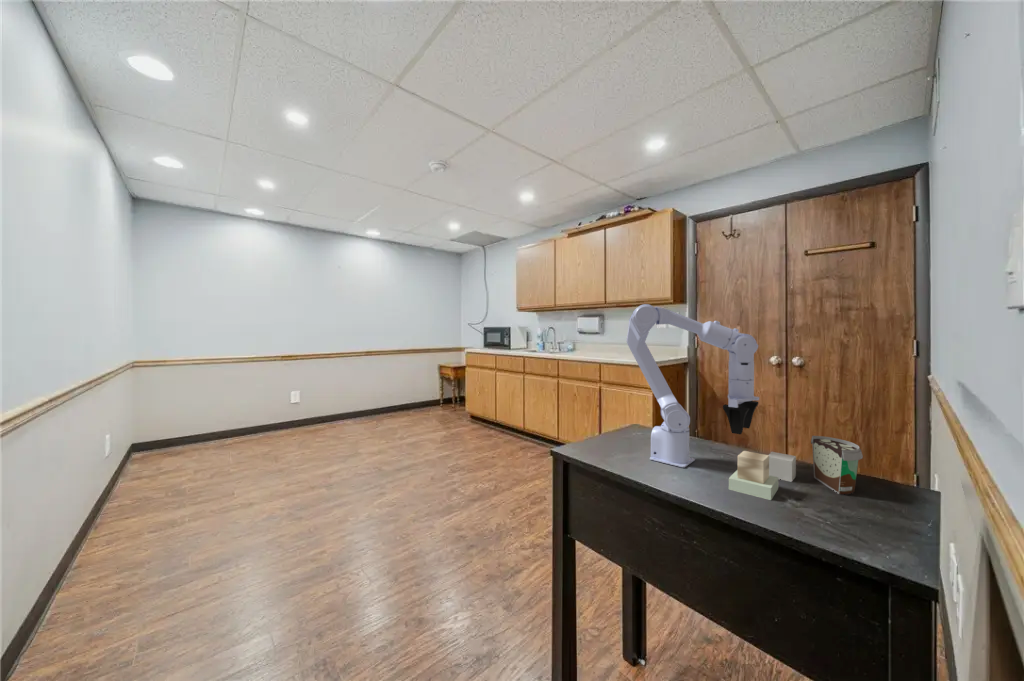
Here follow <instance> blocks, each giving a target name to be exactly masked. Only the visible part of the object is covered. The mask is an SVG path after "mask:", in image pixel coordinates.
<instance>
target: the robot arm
mask: <svg viewBox="0 0 1024 681" xmlns="http://www.w3.org/2000/svg"><path fill="white" fill-rule="evenodd" d="M655 325H657V326H658V325H670V326H673V327H677V328H679V329H682V330H684V331H688V332H690V333H694V334H696V335H697V336H698V338H699V341H701V342H704V343H705V344H709V345H711V346H714V347H716V348H719V349H721V350H727V352H728V357H729V358H728V394H727V399H728V404H723V405H722V409H723V411H724V413H725V415H726V417H727V420H728V423H729V427H730V432H731V433H732V434H734V435H742V433H743V431H744V429H750V428H751V425H752V421H753V417H754V416H753V415H754V413H755V411H756V408H757V407H758V406H759V401H760V396H755V359H754V358H755V356H754V355H755V353H756V352H757V351H758V349H759V344H758V342H757V340H756V339H755V337H754V336H753V335H752V334H748V333H742V332H739V329H738V328H737V327H735V328H730V327H728V326H725V325H722V324H721V322H720V321H718V320H714V321H711V320H708V321H706V322H704V323H703V322H700V321H697V320H695V319H692V318H691V317H688V316H685V315H683V314H680V313H678V312H675V311H673V310H670V309H667V308H664V307H663V308H662V307H659V306H655V307H654V306H653V305H651V304H648V303H644V304H641V305H639V306H638V307H636V308H635V309H634V310H633V311H632V313H631V316H630V318H629V319H628V327H627V334H626V344H627V346H628V349H629V350H630V352H631V354H632V356H633V358H634V359H635V361H636V363H637V365H638V368H640V371H641V373H642V374H643V377H644V379H645V381H646V382H647V384H648V386H649V387H650V390H651V392H652V393H653V395H654V398H656V401H657V403H658V404H659V407H660V416H661V418H662V419H663V422H662V423H661V425H655V426H654V427H653V428H652V430H651V434H650V457H649V460H650V461H655V462H658V463H663V464H667V465H671V466H676V467H679V468H686V467H687V466H688V465H690V464H692V463H693V462H695V460H696V458H694V457H690V427H689V426H690V424H691V416H690V415H689V412H687V410H686V409H684V407H683V406H682V405H681V404H680V403H679V401H678V400H677V398H676V396H675V395H674V394H673V392H672V390H671V388H670V386H669V385H668V382H667V380H666V378H665V377H664V375H663V372H662V371H661V369H660V368H659V367H660V366H659V365H658V364H657V361H656V359H655V358H654V356H653V354H652V353H651V350H650V349H649V347H648V345H647V343H646V340H647V338H648V335H649V333H650V330H652V328H653V327H654V326H655Z"/></svg>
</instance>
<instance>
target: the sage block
mask: <svg viewBox="0 0 1024 681" xmlns="http://www.w3.org/2000/svg"><path fill="white" fill-rule="evenodd" d="M728 490H730V491H734V492H737V493H740V494H745V495H749V496H753V497H757V498H760V499H765V500H769V501H771V500H773V498H774V496H775V495H776V493H777V491H778V490H779V479H778V477H775V476H770V475H769V478H768V479H767V480H766V481H765V483H764V484H762V483H758V482H753V481H749V480H745V479H741V478H737V469H736V470H735V471H734V472H733V473H732V474H731V475H730V476H729V478H728Z"/></svg>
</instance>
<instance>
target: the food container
mask: <svg viewBox="0 0 1024 681" xmlns="http://www.w3.org/2000/svg"><path fill="white" fill-rule="evenodd" d="M810 444H811V446H812V463H813V478H814V479H815V480H817V481H819V482H820V483H821V484H822V485H824V486H826V487H827V488H829V489H830V490H832V491H833V490H834V491H833V492H835V493H836V492H837V493H836V494H837V495H844V494H845V495H852V494H854V493H855V489H856V482H857V475H858V474H857V473H858V465H859V461H860V460H862V459H863V456H864V455H863V453H862V449H861V448H860V446H859V445H858V444H857V443H854V442H851V441H848V440H844V439H841V438H837V437H836V438H835V437H830V436H823V435H812V436H811V439H810ZM853 492H854V493H853ZM851 493H852V494H851Z"/></svg>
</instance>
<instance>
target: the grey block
mask: <svg viewBox="0 0 1024 681" xmlns="http://www.w3.org/2000/svg"><path fill="white" fill-rule="evenodd" d="M768 455H769V475H770V476H775V477H778V480H780V479H781V480H780V481H786V482H791V483H792V482H793V481H794V480H795V478H796V476H797V471H796V470H797V469H796V468H797V466H796V465H797V464H796V463H797V456H796V455H791V454H785V453H781V452H775V451H770V453H769V454H768Z"/></svg>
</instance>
